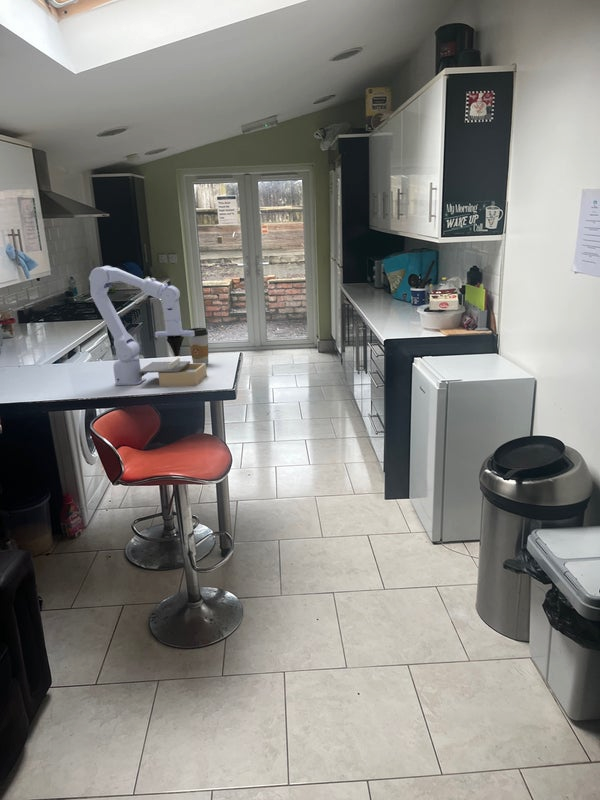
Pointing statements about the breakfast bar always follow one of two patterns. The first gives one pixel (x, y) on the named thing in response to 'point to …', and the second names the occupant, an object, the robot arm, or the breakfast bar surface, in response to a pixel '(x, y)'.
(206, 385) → the breakfast bar surface
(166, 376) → the storage box
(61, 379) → the breakfast bar surface
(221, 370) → the breakfast bar surface
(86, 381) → the breakfast bar surface
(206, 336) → the coffee cup
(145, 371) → the grey square slab
